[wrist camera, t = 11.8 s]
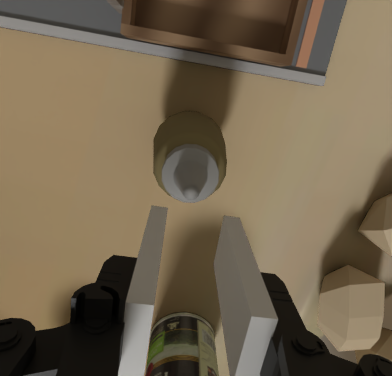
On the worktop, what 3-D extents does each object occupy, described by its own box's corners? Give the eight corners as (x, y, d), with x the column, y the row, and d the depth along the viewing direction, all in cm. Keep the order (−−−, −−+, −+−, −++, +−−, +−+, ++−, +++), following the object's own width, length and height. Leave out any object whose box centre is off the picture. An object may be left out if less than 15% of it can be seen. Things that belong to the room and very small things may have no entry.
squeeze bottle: (217, 103, 36) (244, 124, 19) (224, 167, 39) (254, 235, 22) (150, 113, 37) (119, 143, 20) (162, 177, 39) (144, 251, 22)
